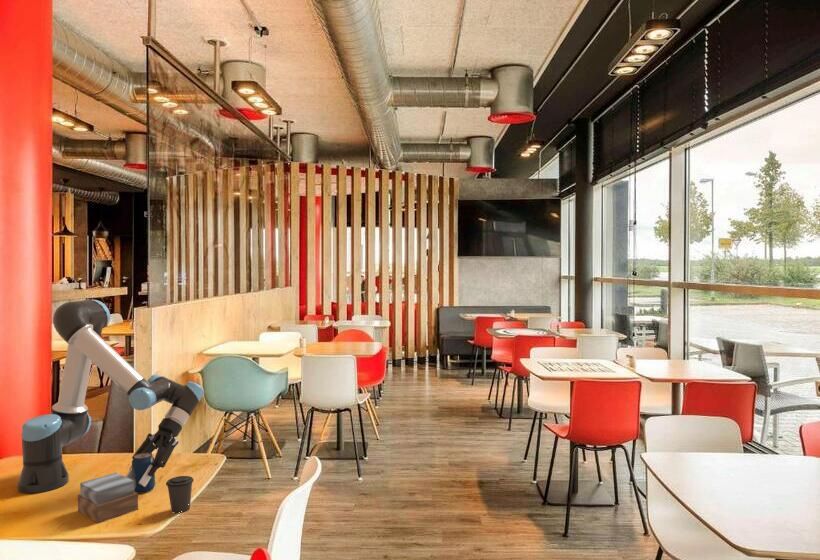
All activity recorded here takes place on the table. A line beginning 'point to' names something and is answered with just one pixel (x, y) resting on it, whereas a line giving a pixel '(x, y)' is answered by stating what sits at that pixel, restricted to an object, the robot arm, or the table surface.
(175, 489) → the coffee cup
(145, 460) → the soda can
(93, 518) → the two-tone square slab
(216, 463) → the table surface
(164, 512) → the table surface
